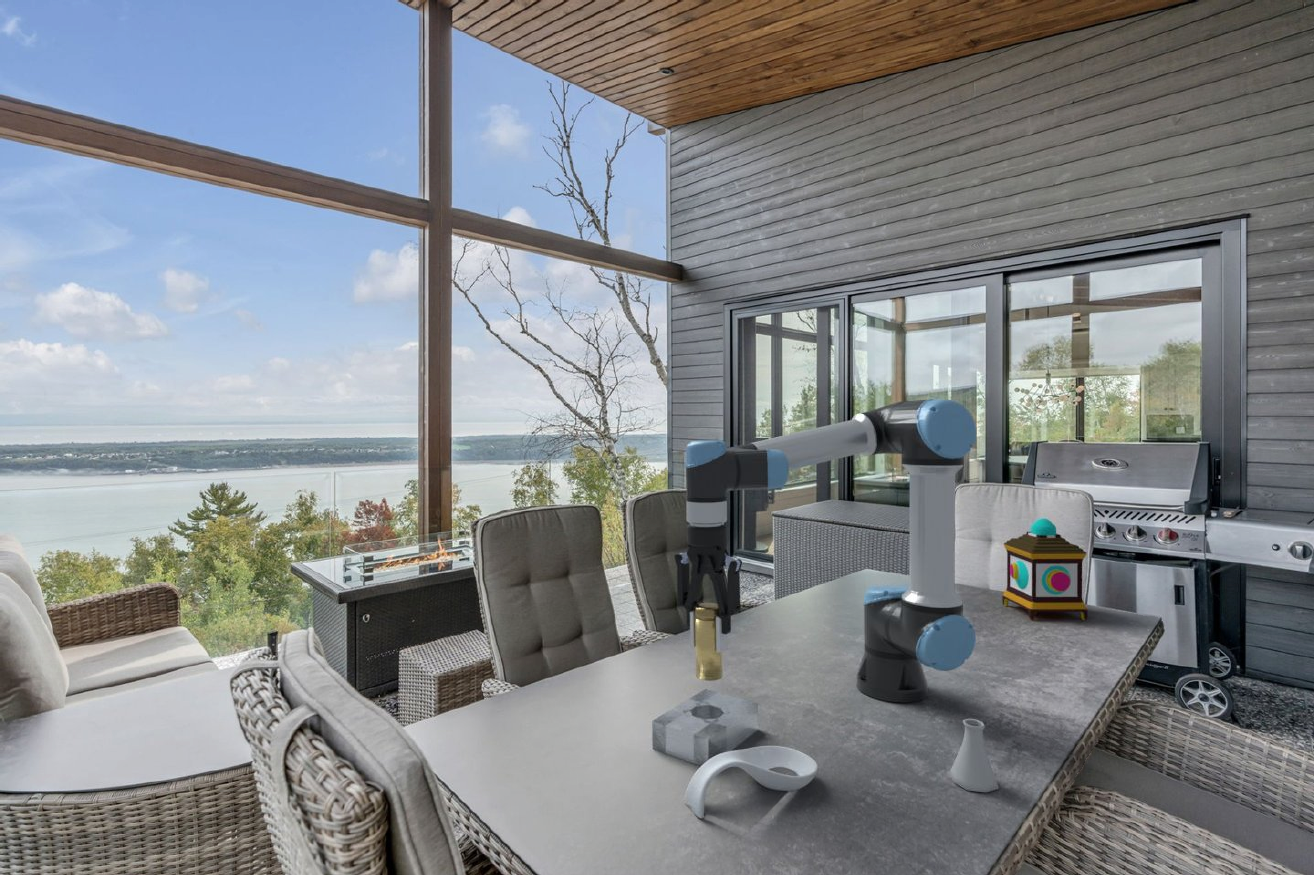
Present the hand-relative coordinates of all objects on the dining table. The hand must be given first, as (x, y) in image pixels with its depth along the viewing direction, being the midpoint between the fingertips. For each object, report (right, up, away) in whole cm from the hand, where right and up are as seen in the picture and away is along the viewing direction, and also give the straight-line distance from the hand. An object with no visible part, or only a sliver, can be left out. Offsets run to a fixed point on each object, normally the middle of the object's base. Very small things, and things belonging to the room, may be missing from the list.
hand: (708, 647), depth 123 cm
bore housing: (0, -18, 0) cm, 18 cm away
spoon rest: (+6, -19, -16) cm, 26 cm away
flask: (+43, -18, -13) cm, 49 cm away
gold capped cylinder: (0, -5, 0) cm, 5 cm away
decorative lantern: (+112, -16, +85) cm, 142 cm away
